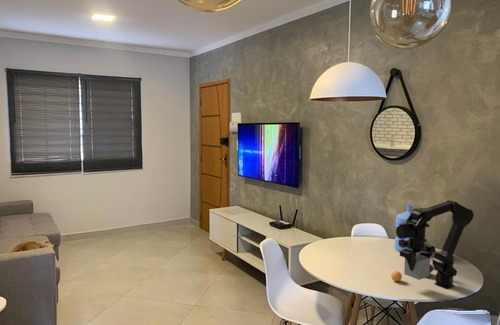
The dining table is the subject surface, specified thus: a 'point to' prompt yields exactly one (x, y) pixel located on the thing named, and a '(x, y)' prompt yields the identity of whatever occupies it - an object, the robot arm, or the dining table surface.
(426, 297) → the dining table surface
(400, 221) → the water jug
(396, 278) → the ball
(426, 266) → the matte grey cube
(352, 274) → the dining table surface
